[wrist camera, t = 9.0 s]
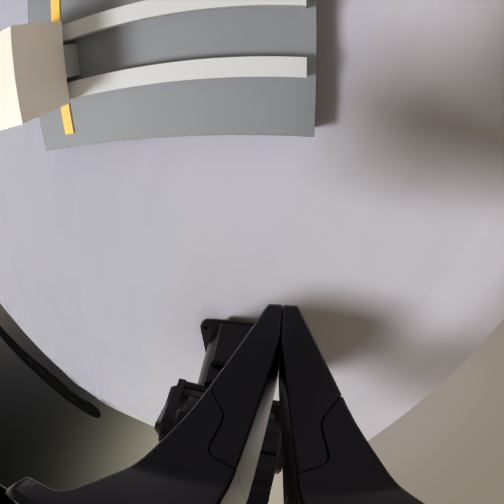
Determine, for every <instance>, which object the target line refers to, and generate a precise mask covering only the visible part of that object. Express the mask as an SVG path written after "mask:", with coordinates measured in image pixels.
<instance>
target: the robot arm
mask: <svg viewBox="0 0 504 504" xmlns="http://www.w3.org/2000/svg"><path fill="white" fill-rule="evenodd" d="M201 332H202V337H203V341H204V346H205V351H206V354H205V358H204V362H203V366H202V369H201V373H200V377H199V381H198V384H195V383H191V382H187V381H186V380H184V379H179V381H178V384H177V386H173V387H171V389H170V392H169V395H168V398H167V401H166V404H165V406H164V408H163V410H162V412H161V414H160V416H159V417H158V419H157V421H156V424H155V430H156V432H157V434H158V435H159V443H158V445H156V446H155V447H154V448H153V449H152V450H151V451H150V452H149V453H148V454H147V455H146V456H145V457H144V458H142V459H141V460H140V461H138V462H137V463H135V464H134V465H132V466H130V467H128V468H126V469H124V470H121V471H119V472H116V473H114V474H112V475H109V476H106V477H104V478H101V479H99V480H96V481H94V482H91V483H88V484H85V485H82V486H79V487H77V488H73V489H69V490H53V489H51V488H48V487H46V486H44V485H42V484H41V483H39V482H37V481H35V480H33V479H31V478H29V477H26V478H24V479H22V480H20V481H19V482H16V483H15V484H13V485H12V486H11V487H9V488H8V489H7V488H5V487H4V486H2V485H0V504H267V503H268V501H269V495H270V490H271V486H272V482H273V478H274V474H278V473H280V472H281V470H282V468H283V492H284V504H424V503H423V502H421V501H420V500H418V499H417V498H415V497H414V496H413V495H411V494H409V493H408V492H407V491H405V490H404V489H403V488H402V487H400V486H399V485H398V484H397V483H396V482H395V480H394V479H393V478H392V477H391V476H390V474H389V473H388V472H387V470H386V469H385V467H384V466H383V464H382V463H381V461H380V460H379V458H378V457H377V455H376V454H375V452H374V451H373V449H372V448H371V446H370V445H369V443H368V442H367V440H366V439H365V437H364V435H363V434H362V432H361V431H360V429H359V427H358V426H357V424H356V422H355V420H354V419H353V417H352V415H351V413H350V411H349V409H348V407H347V405H346V403H345V401H344V399H343V397H341V393H340V391H339V389H338V387H337V385H336V382H335V380H334V378H333V376H332V374H331V372H330V370H329V368H328V366H327V364H326V362H325V360H324V358H323V356H322V354H321V352H320V350H319V348H318V346H317V344H316V341H315V339H314V337H313V335H312V333H311V331H310V329H309V327H308V325H307V323H306V321H305V319H304V317H303V315H302V313H301V311H300V309H299V307H298V306H296V305H284V306H282V305H279V304H269V305H268V306H267V307H266V308H265V310H264V311H263V313H262V314H261V316H260V317H259V318H258V320H257V321H256V323H255V324H241V323H229V322H218V321H207V320H205V321H202V323H201ZM278 371H279V399H280V400H279V401H276V400H273V397H274V393H275V388H276V384H277V379H278Z"/></svg>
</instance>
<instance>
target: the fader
mask: <svg viewBox="0 0 504 504" xmlns="http://www.w3.org/2000/svg"><path fill="white" fill-rule="evenodd" d="M76 75H80V69H79V59H78V48H77V43H76V44H68V45H63V37H62V21H55V22H41V23H30V24H21V25H13V26H9V27H8V28H6V29H4V30H2V31H1V32H0V131H1V130H4V129H7V128H11V127H14V126H17V125H21V124H24V123H26V122H28V121H30V120H32V119H34V118H36V117H39V116H41V115H43V114H45V113H48V112H50V111H52V110H54V109H57V108H59V107H62V106H64V105H67V104H69V103H70V99H69V92H68V85H67V78H69V77H73V76H76Z"/></svg>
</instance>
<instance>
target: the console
mask: <svg viewBox="0 0 504 504" xmlns="http://www.w3.org/2000/svg"><path fill="white" fill-rule="evenodd" d="M55 21H62V37H63V45H68V44H76V43H77V48H78V59H79V69H80V75H76V76H73V77H69V78H67V85H68V92H69V99H70V103H69V104H67V105H64V106H62V107H59V108H57V109H54V110H52V111H50V112H48V113H45V114H43V115H41V116H39V118H40V123H41V128H42V133H43V138H44V143H45V147H46V151H49V150H55V149H61V148H67V147H74V146H81V145H89V144H97V143H105V142H114V141H124V140H135V139H147V138H161V137H178V136H201V135H281V136H305V137H314V129H315V101H316V0H28V24H30V23H41V22H55Z"/></svg>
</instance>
